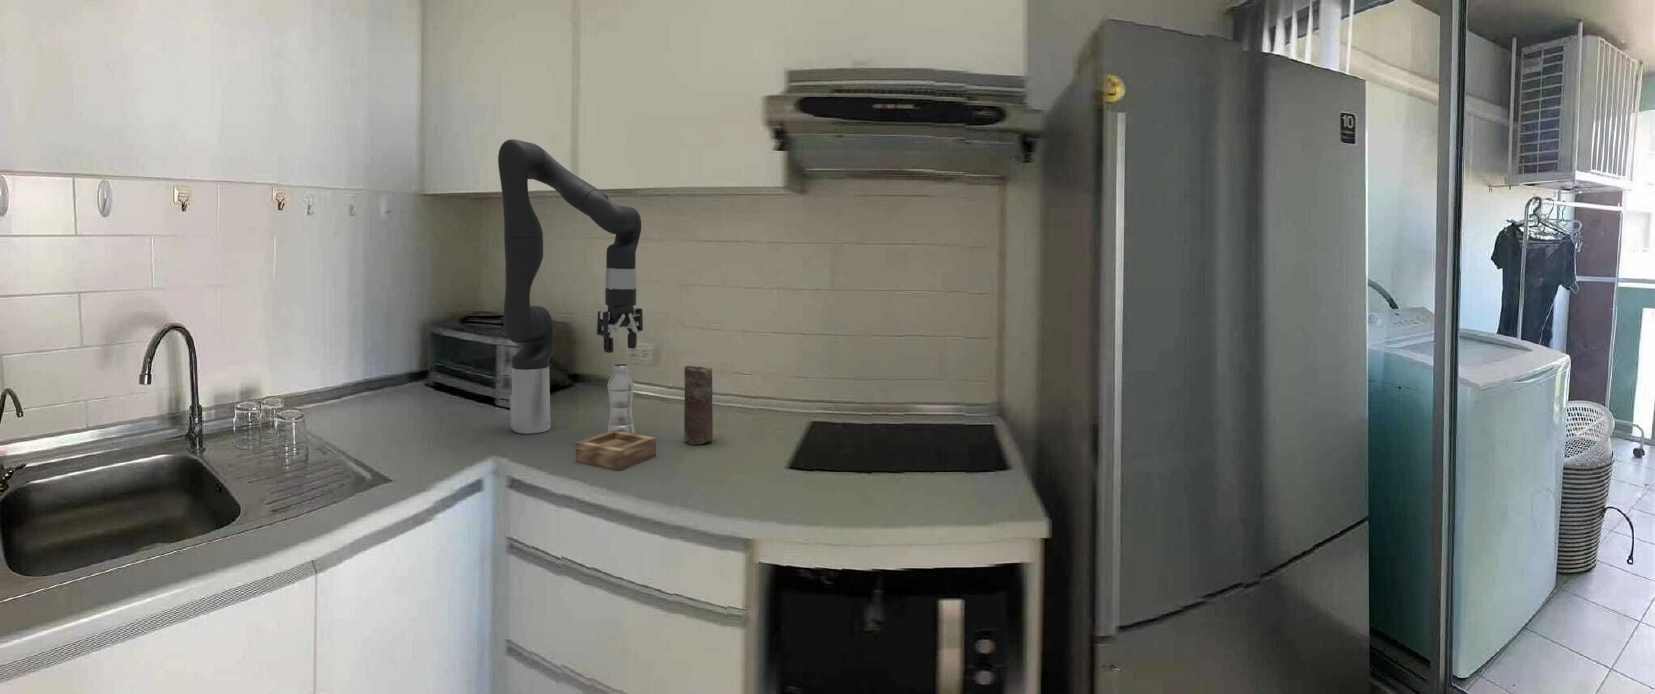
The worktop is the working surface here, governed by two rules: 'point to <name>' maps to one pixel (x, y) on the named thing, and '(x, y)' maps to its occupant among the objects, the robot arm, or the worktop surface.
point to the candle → (698, 405)
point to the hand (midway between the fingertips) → (620, 350)
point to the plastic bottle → (620, 400)
